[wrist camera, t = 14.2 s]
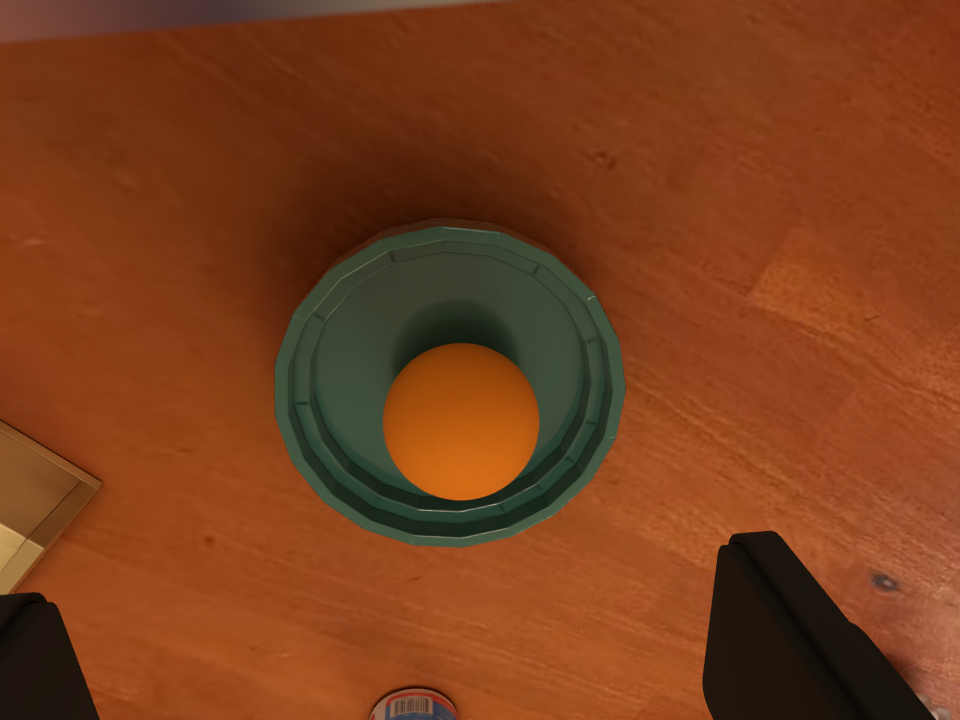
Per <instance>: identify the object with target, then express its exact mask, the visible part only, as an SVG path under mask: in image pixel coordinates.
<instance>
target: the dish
mask: <svg viewBox="0 0 960 720" xmlns="http://www.w3.org/2000/svg"><path fill="white" fill-rule="evenodd" d="M453 343H470V344H476V345H481V346H484V347H487V348H490V349H492V350H494V351H496V352H498V353H500V354H502V355H504V356H505V357H507V358H508V359H509V360H510V361H511V362H513V363H514V364H515V365H516V366H517V367H518V368H519V369H520V370H521V372H522V373H523V374H524V375H525V377H526V378H527V380H528V382H529V383H530V385H531V387H532V389H533V392H534V394H535V397H536V400H537V405H538V410H539V433H538V438H537V443H536V446H535V448H534V451H533V453H532V456H531V458H530V460H529V461H528V463H527V465H526V466H525V467H524V469H523V470H522V471H521V473H520V474H519V475H518V476H517V477H516V478H515V479H514V480H513V481H512V482H510V483H509V484H508V485H507V486H505V487H504V488H502V489H500V490H499V491H497V492H495V493H493V494H490V495H488V496H485V497H481V498H477V499H472V500H450V499H445V498H441V497H437V496H434V495H432V494H429V493H427V492H425V491H423V490H421V489H420V488H418V487H417V486H416V485H414V484H413V483H411V482H410V481H409V480H408V479H407V478H406V477H405V476H404V475H403V474H402V473H401V471H400V470H399V469H398V467H397V466H396V465H395V463H394V461H393V460H392V458H391V456H390V454H389V451H388V448H387V446H386V442H385V437H384V432H383V412H384V405H385V402H386V398H387V395H388V392H389V390H390V388H391V386H392V384H393V382H394V381H395V379H396V377H397V376H398V375H399V373H400V372H401V371H402V370H403V369H404V367H405V366H406V365H407V364H409V363H410V362H411V361H412V360H413V359H415V358H416V357H417V356H419V355H421V354H422V353H424V352H426V351H428V350H430V349H433V348H435V347H439V346H442V345H447V344H453ZM625 390H626V386H625V378H624V370H623V363H622V355H621V348H620V341H619V338H618V336H617V335H616V333H615V331H614V329H613V327H612V325H611V323H610V321H609V319H608V317H607V315H606V313H605V311H604V309H603V307H602V306H601V304H600V302H599V300H598V298H597V296H596V294H595V293H594V292H593V291H592V289H591V288H590V287H589V286H588V285H587V284H586V283H585V282H584V280H583V279H582V278H581V277H579V276H578V275H577V274H576V273H575V272H574V271H573V270H572V269H571V268H570V267H569V266H568V265H567V264H566V263H565V262H563V261H562V260H561V259H560V258H559V257H558V256H557V255H556V254H555V253H554V252H553V251H552V250H551V249H550V248H548V247H547V246H545V245H544V244H542V243H540V242H538V241H536V240H533V239H531V238H529V237H527V236H525V235H522V234H520V233H518V232H516V231H513V230H511V229H509V228H507V227H505V226H502V225H500V224H498V223H496V224H495V223H494V222H484V221H475V220H465V219H455V218H445V217H441V218H440V217H437V218H432V219H428V220H423V221H419V222H414V223H409V224H405V225H400V226H396V227H391V228H387V229H385V230H382V231H380V232H379V233H377V234H375V235H374V236H372V237H370V238H369V239H367V240H365V241H364V242H362V243H360V244H359V245H357V246H355V247H354V248H352V249H350V250H349V251H347V252H345V253H344V254H342V255H340V256H339V257H338V258H336V259H335V260H334V262H333V263H332V264H331V265H330V266H329V268H328V269H327V270H326V271H325V272H324V274H323V275H322V276H321V277H320V278H319V280H318V281H317V282H316V283H315V284H314V286H313V287H312V288H311V289H310V290H309V291H308V293H307V294H306V295H305V296H304V298H303V299H302V300H301V302H300V303H299V305H298V306H297V308H296V309H295V311H294V312H293V314H292V316H291V319H290V322H289V325H288V327H287V330H286V333H285V336H284V338H283V341H282V344H281V347H280V349H279V352H278V355H277V357H276V360H275V365H274V412H275V418H276V421H277V423H278V426H279V429H280V432H281V434H282V437H283V440H284V442H285V445H286V448H287V451H288V453H289V456H290V459H291V461H292V463H293V465H294V466H295V467H296V468H297V470H298V471H299V472H300V473H301V475H302V476H303V477H304V478H305V480H306V481H307V482H308V483H309V485H310V486H311V487H312V488H313V490H314V491H315V492H316V493H317V495H318V496H319V497H320V498H321V500H322V501H324V503H326V504H327V505H329V506H330V507H332V508H333V509H334V510H336V511H337V512H339V513H340V514H342V515H343V516H345V517H346V518H348V519H349V520H351V521H352V522H354V523H355V524H357V525H358V526H360V527H361V528H363V529H365V530H367V531H370V532H374V533H377V534H380V535H383V536H386V537H389V538H392V539H395V540H398V541H401V542H404V543H408V544H411V545H418V546H438V547H459V548H462V547H467V546H472V545H477V544H481V543H486V542H491V541H495V540H500V539H505V538H509V537H512V536H514V535H516V534H518V533H520V532H522V531H524V530H526V529H528V528H530V527H532V526H534V525H536V524H538V523H540V522H542V521H544V520H546V519H548V518H550V517H551V516H553V515H555V514H556V513H557V512H558V511H559V510H561V509H562V508H563V507H564V506H565V505H566V504H567V503H568V502H569V501H570V500H571V499H572V498H573V497H575V496H576V495H577V494H578V493H579V492H580V491H581V490H582V489H583V488H584V487H585V486H586V485H587V484H588V483H590V481H591V480H592V479H593V477H594V475H595V474H596V472H597V470H598V468H599V467H600V465H601V463H602V462H603V460H604V458H605V456H606V455H607V453H608V451H609V449H610V448H611V446H612V444H613V443H614V441H615V438H616V435H617V431H618V426H619V421H620V416H621V412H622V407H623V402H624V397H625V392H626V391H625Z"/></svg>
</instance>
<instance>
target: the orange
mask: <svg viewBox="0 0 960 720" xmlns="http://www.w3.org/2000/svg"><path fill="white" fill-rule="evenodd" d="M383 432H384V437H385V442H386V446H387V448H388V451H389V454H390V456H391V458H392V460H393V461H394V463H395V465H396V466H397V467H398V469H399V470H400V471H401V473H402V474H403V475H404V476H405V477H406V478H407V479H408V480H409V481H410V482H411V483H413V484H414V485H416V486H417V487H418V488H420V489H421V490H423V491H425V492H427V493H429V494H432V495H434V496H437V497H441V498H445V499H450V500H472V499H477V498H481V497H485V496H488V495H490V494H493V493H495V492H497V491H499V490H500V489H502V488H504V487H505V486H507V485H508V484H509V483H510V482H512V481H513V480H514V479H515V478H516V477H517V476H518V475H519V474H520V473H521V471H522V470H523V469H524V467H525V466H526V465H527V463H528V461H529V460H530V458H531V456H532V453H533V451H534V448H535V446H536V443H537V438H538V433H539V410H538V405H537V400H536V397H535V394H534V392H533V389H532V387H531V385H530V383H529V382H528V380H527V378H526V377H525V375H524V374H523V373H522V372H521V370H520V369H519V368H518V367H517V366H516V365H515V364H514V363H513V362H511V361H510V360H509V359H508V358H507V357H505V356H504V355H502V354H500V353H498V352H496V351H494V350H492V349H490V348H487V347H484V346H481V345H476V344H470V343H453V344H447V345H442V346H439V347H435V348H433V349H430V350H428V351H426V352H424V353H422V354H421V355H419V356H417V357H416V358H415V359H413V360H412V361H411V362H410V363H409V364H407V365H406V366H405V367H404V369H403V370H402V371H401V372H400V373H399V375H398V376H397V377H396V379H395V381H394V382H393V384H392V386H391V388H390V390H389V392H388V395H387V398H386V402H385V405H384V412H383Z"/></svg>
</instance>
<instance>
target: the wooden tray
mask: <svg viewBox="0 0 960 720" xmlns="http://www.w3.org/2000/svg"><path fill="white" fill-rule="evenodd" d="M101 485H102V482H101V481H99V480H97V479H96V478H94V477H92V476H91V475H89V474H87V473H86V472H84V471H82V470H81V469H79V468H78V467H76V466H74V465H73V464H71V463H69V462H68V461H66V460H64V459H63V458H61V457H59V456H58V455H56V454H55V453H53V452H51V451H50V450H48V449H46V448H45V447H43V446H41V445H40V444H38V443H36V442H35V441H33V440H32V439H30V438H28V437H27V436H25V435H23V434H22V433H20V432H18V431H17V430H15V429H13V428H12V427H10V426H9V425H7V424H5V423H4V422H2V421H0V595H6V594H13V593H14V592H15V590H16V589H17V588H18V587H19V585H20V584H21V583H22V582H23V581H24V579H25V578H26V577H27V576H28V574H29V573H30V572H31V571H32V569H33V568H34V567H35V566H36V565H37V563H38V562H39V561H40V560H41V558H42V557H43V556H44V555H45V554H46V552H47V551H48V550H49V549H50V547H51V546H52V545H53V544H54V542H55V541H56V540H57V539H58V538H59V536H60V535H61V534H62V533H63V531H64V530H65V529H66V528H67V527H68V525H69V524H70V523H71V522H72V520H73V519H74V518H75V517H76V515H77V514H78V513H79V512H80V511H81V509H82V508H83V507H84V506H85V504H86V503H87V502H88V501H89V500H90V498H91V497H92V496H93V495H94V493H95V492H96V491H97V490H98V489H99V487H100V486H101Z"/></svg>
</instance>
